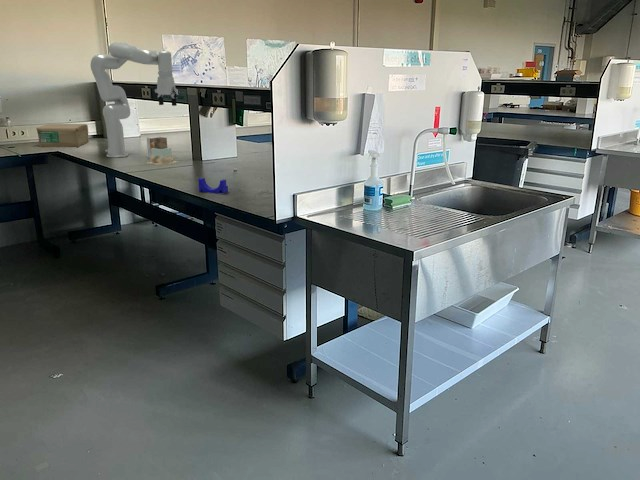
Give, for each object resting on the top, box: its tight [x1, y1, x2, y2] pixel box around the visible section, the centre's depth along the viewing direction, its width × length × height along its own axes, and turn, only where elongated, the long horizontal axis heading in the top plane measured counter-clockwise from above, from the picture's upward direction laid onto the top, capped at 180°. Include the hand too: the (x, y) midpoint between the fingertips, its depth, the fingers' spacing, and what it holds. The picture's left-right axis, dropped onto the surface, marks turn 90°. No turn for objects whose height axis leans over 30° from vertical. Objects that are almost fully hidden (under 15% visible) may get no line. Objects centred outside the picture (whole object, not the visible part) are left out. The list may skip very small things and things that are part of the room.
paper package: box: [35, 123, 90, 148], centre depth 371 cm, size 27×26×14 cm
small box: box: [146, 136, 158, 159], centre depth 319 cm, size 8×6×13 cm
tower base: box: [149, 154, 175, 164], centre depth 305 cm, size 9×9×4 cm
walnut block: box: [154, 136, 168, 149], centre depth 303 cm, size 5×5×6 cm
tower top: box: [151, 147, 173, 157], centre depth 304 cm, size 8×8×4 cm
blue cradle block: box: [198, 177, 229, 194], centre depth 235 cm, size 12×4×6 cm, turn 74°
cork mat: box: [145, 160, 180, 166], centre depth 306 cm, size 14×14×1 cm
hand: (167, 105), depth 304 cm, fingers open, 9 cm apart
